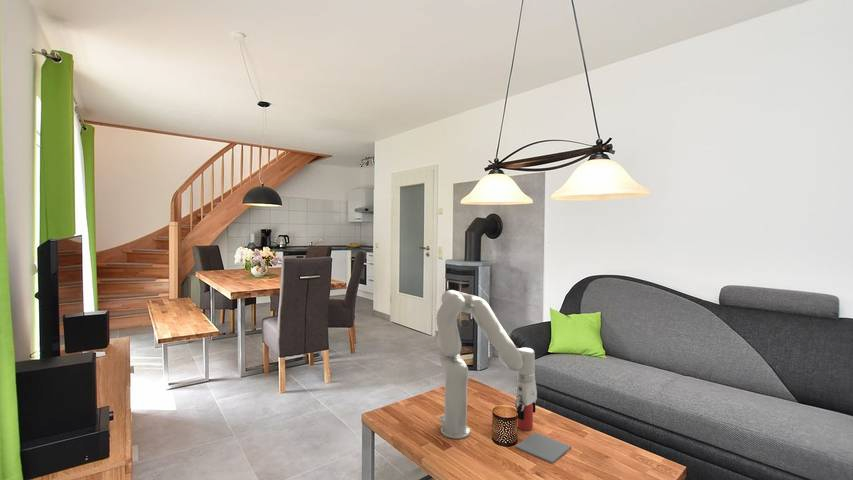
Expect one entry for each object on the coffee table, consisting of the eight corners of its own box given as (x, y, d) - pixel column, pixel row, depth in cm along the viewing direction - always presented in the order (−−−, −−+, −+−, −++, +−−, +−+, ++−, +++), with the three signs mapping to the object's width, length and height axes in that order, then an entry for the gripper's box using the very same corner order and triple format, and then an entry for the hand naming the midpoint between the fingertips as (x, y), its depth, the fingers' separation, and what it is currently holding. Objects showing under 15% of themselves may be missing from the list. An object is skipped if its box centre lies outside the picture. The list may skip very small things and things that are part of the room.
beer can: (533, 431, 173) (533, 404, 173) (517, 430, 175) (517, 402, 175) (532, 424, 180) (532, 398, 180) (517, 423, 181) (517, 396, 181)
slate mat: (515, 447, 160) (515, 446, 160) (535, 433, 172) (535, 432, 172) (552, 463, 149) (552, 462, 149) (571, 447, 161) (571, 446, 161)
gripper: (523, 384, 168) (523, 424, 169) (543, 373, 181) (543, 411, 181) (508, 379, 174) (508, 419, 174) (528, 369, 186) (528, 406, 186)
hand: (526, 415), depth 177 cm, fingers open, 9 cm apart
